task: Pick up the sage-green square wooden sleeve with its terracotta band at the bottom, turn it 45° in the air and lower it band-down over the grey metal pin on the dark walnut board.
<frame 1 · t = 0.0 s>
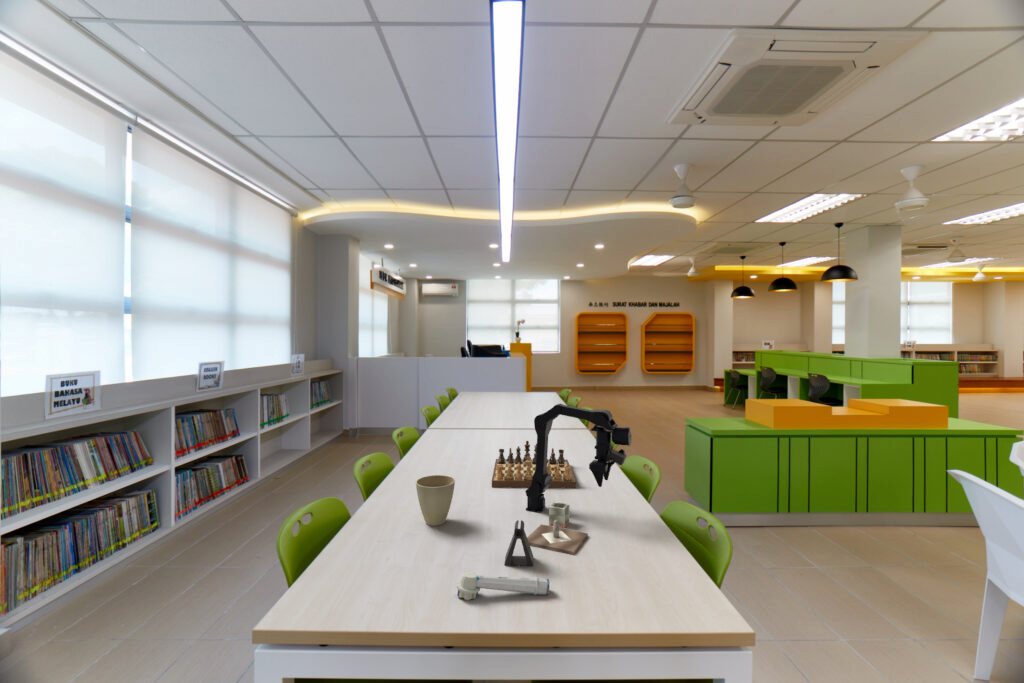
hand: (603, 483, 179), 15 cm above the table, fingers open, 9 cm apart
pin board: (556, 539, 162), on the table
phone stand: (519, 562, 146), on the table
toothbrush head: (503, 596, 127), on the table
sleeve: (559, 523, 176), on the table
plant pot: (435, 522, 177), on the table
chess set: (532, 476, 239), on the table
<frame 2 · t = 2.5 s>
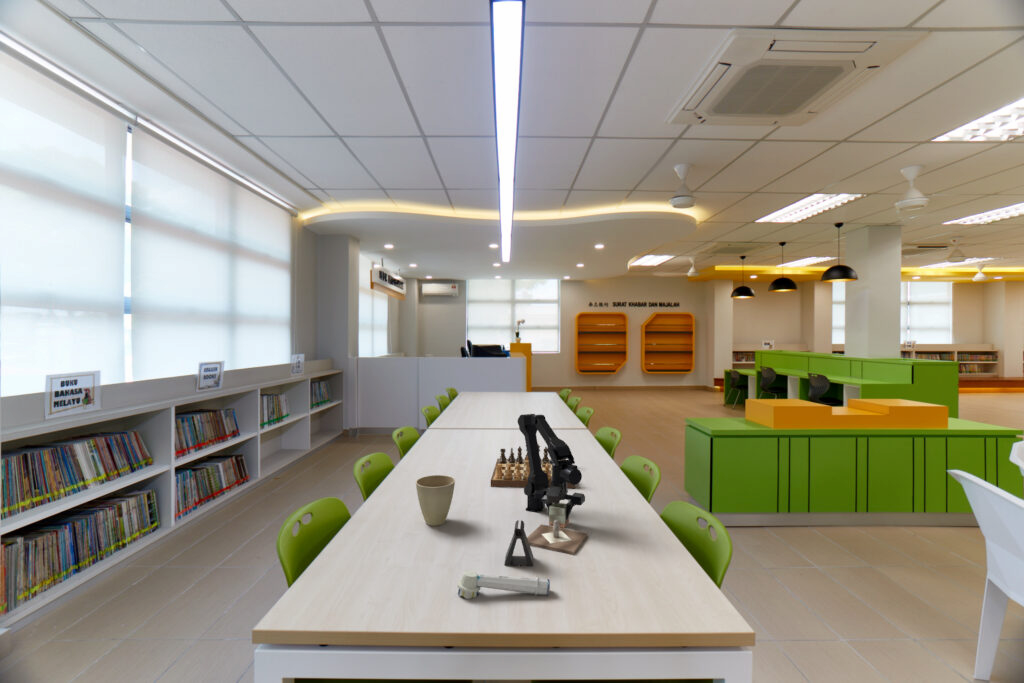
hand: (559, 518, 176), 2 cm above the table, fingers closed on sleeve, 6 cm apart
sleeve: (559, 523, 176), on the table, touching gripper
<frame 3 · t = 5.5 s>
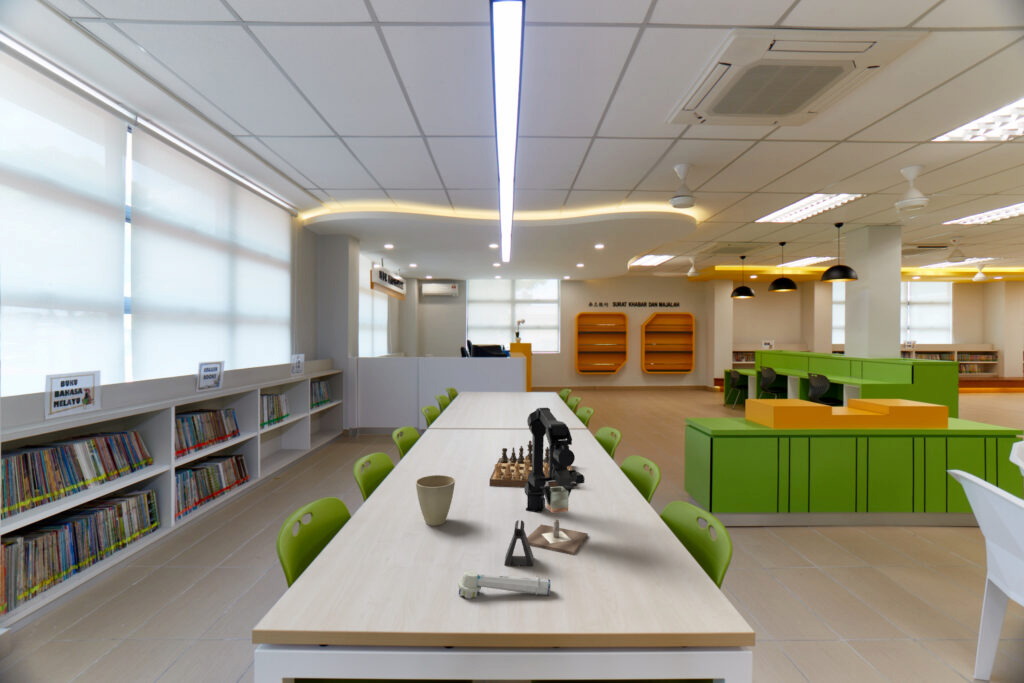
hand: (557, 503, 163), 12 cm above the table, fingers closed on sleeve, 6 cm apart
sleeve: (557, 509, 163), point 10 cm above the table, touching gripper
when the fingers open (4 cm above the table, at t = 8.6 s): sleeve drops 1 cm, resting on pin board.
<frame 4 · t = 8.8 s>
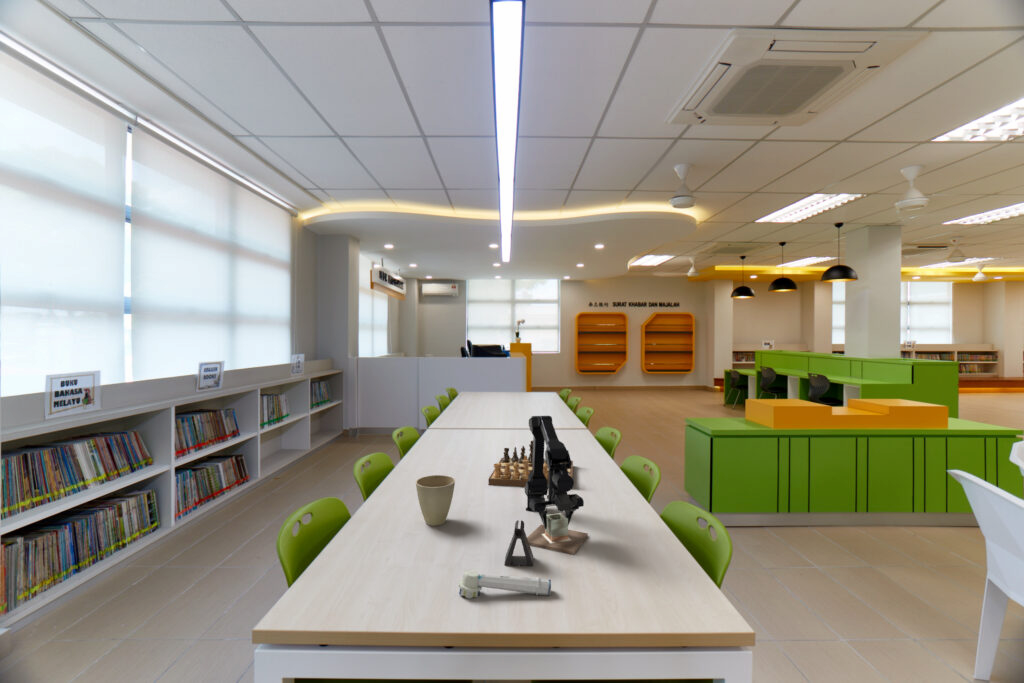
hand: (556, 527, 162), 4 cm above the table, fingers open, 8 cm apart
sleeve: (556, 536, 162), point 1 cm above the table, touching pin board
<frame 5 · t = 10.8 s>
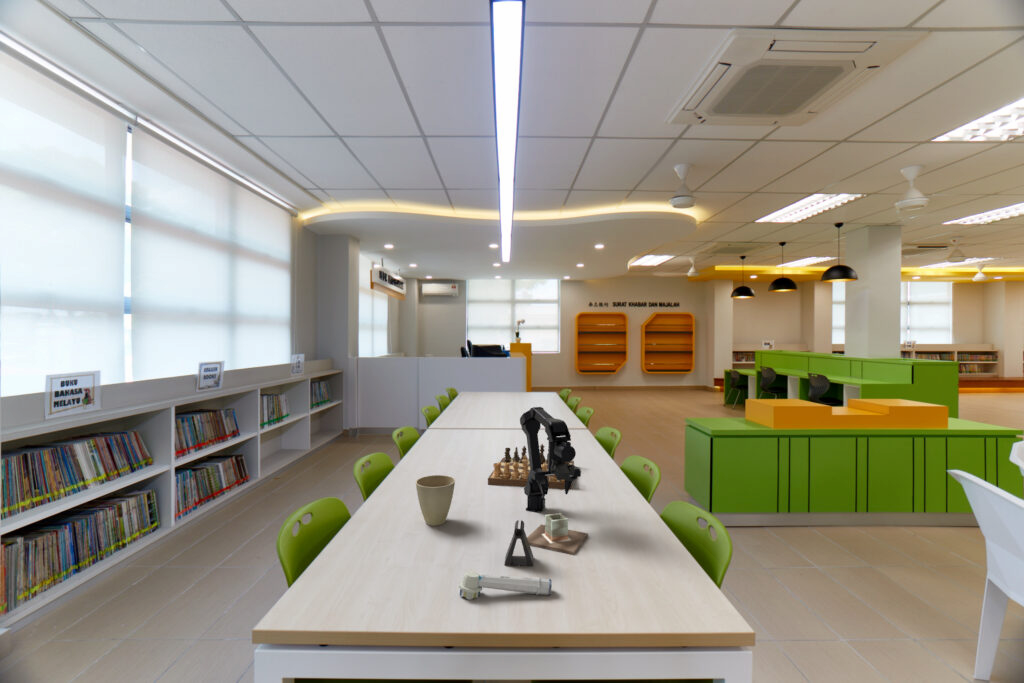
hand: (555, 495, 174), 11 cm above the table, fingers open, 9 cm apart
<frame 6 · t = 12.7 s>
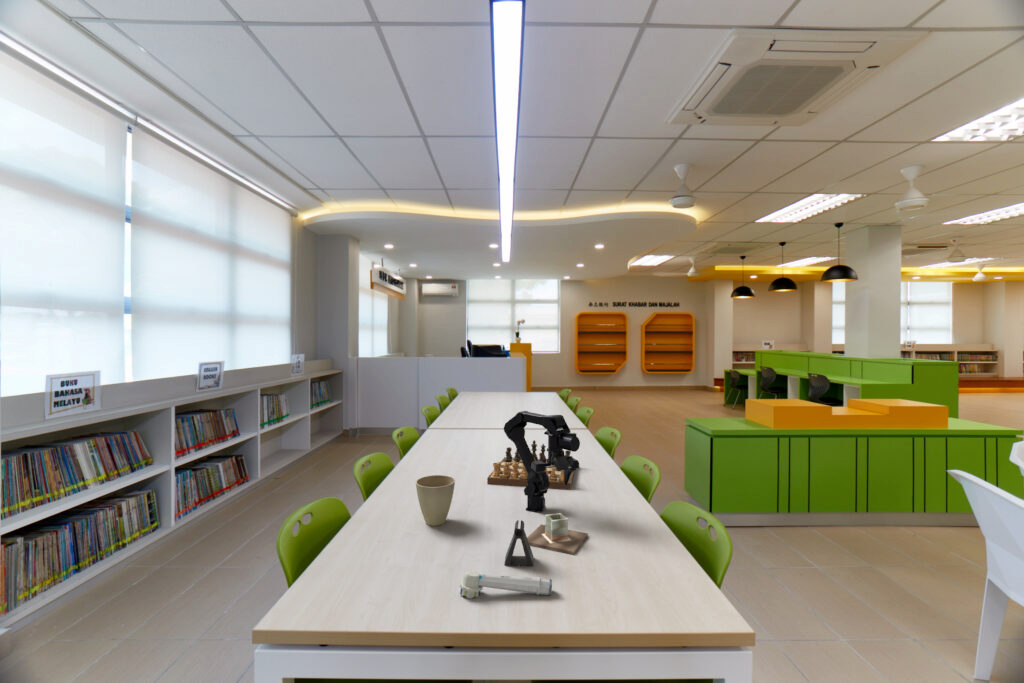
hand: (555, 486, 183), 12 cm above the table, fingers open, 9 cm apart
at the end: sleeve 0.0 cm off-centre on the pin board, point 1.0 cm above the pin board's base; sleeve tilted 0°; the gripper is holding nothing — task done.
